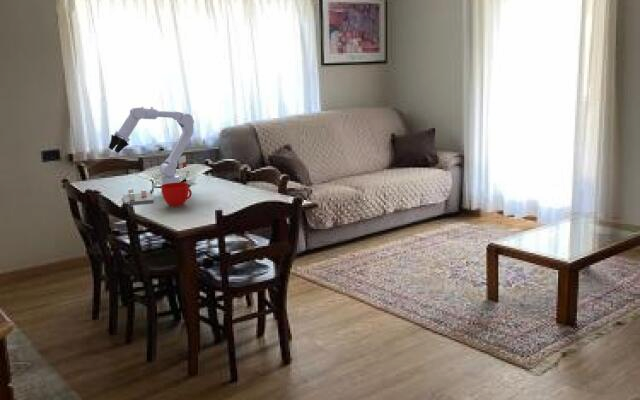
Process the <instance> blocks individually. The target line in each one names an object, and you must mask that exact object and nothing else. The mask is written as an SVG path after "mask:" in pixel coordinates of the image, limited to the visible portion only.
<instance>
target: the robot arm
mask: <svg viewBox="0 0 640 400" xmlns="http://www.w3.org/2000/svg"><path fill="white" fill-rule="evenodd" d="M157 118H168V119H169V118H172V119H173V120H175V121H176V122H177V123H178V125H179V126H180V128H181V131H182V132H181V134H180V135H179V136H180V137H179V138H178V140H177V142H176V144H175V145H174V147H173V148H172V151H170V152H171V153H170V154H169V156H168V157H167V158H166V159H165V160H164V162H163V163H161V164H160V166H159V172H160V173H161V175H160V177H161V186H162V185H164V184H168V183H181V182H180V180H179V176H175V173H176V167H177V162H178V160H179V158H180V156H181V155H183V152H184V151H185V148H186V147H187V145H188V143H189V142H190V140H191V138H192V136H193V134H194V123H195V121H194V119H193V116H192V115H191V114H189V113H184V112H181V111H176V110H158V109H157V108H155V107H153V106H150V107H144V106H141V107H137V106H135V107H134V106H133V107H132V108H131V109H130V110H129V114H128V116H127V118H126V119H125V120H124V122H123V123H122V125H121V126H120V129H118V131H117V130H115V131H114V134H111V136H110V142H109V145H108V149H110V150H111V151H113V150H114V152H115V153H117V154H119V153H120V152H121V151H122V150H124V149H125V148H126V147H128V146H129V145H130V143H129V142H130V141H131V138H129V137H130V136H131V134H132V132H133V131H134V130H135V128H136V126H137V125H138V123H139V121H140V120H142V119H143V120H156V119H157ZM161 193H162V190H161Z"/></svg>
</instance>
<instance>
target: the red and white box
mask: <svg viewBox="0 0 640 400" xmlns="http://www.w3.org/2000/svg"><path fill="white" fill-rule="evenodd" d="M187 165H188V164H187V158H186V155H185V154H181V156H180V158H179V160H178V162H177V167H176V169H181V168H184V167H187ZM187 168H188V167H187Z"/></svg>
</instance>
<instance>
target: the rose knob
mask: <svg viewBox="0 0 640 400" xmlns="http://www.w3.org/2000/svg"><path fill="white" fill-rule="evenodd" d="M140 193H141V196H142V197H143V196H147V195H146V193H147V190H146V189H141V190H140Z"/></svg>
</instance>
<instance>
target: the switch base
mask: <svg viewBox="0 0 640 400" xmlns="http://www.w3.org/2000/svg"><path fill="white" fill-rule="evenodd" d="M146 195H147V196H143V197H142V196H141V192H140V193H139V192H138V193H135V200H130V195H129V193H128V194H122V199H123V203H130V204H132V205H133V206H134V205H142V204H143V205H144V204H153V203H154V202H155V200H154V197H153V194H152V193H151V192H146ZM154 204H155V203H154ZM132 205H131V206H132Z"/></svg>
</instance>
